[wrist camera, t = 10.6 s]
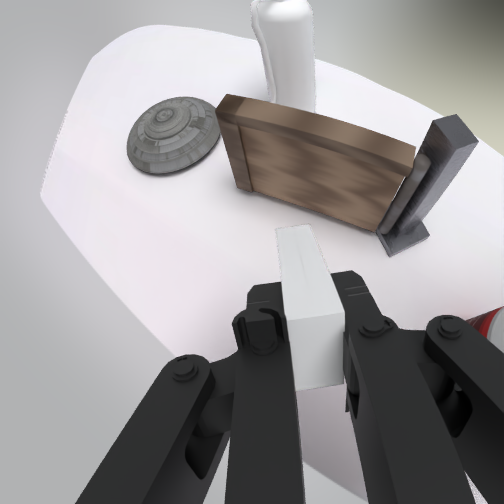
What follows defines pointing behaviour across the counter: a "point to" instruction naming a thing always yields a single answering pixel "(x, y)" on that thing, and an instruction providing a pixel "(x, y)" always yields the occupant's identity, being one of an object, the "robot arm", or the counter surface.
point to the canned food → (491, 326)
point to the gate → (319, 162)
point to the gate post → (431, 180)
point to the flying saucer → (173, 135)
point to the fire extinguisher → (287, 51)
